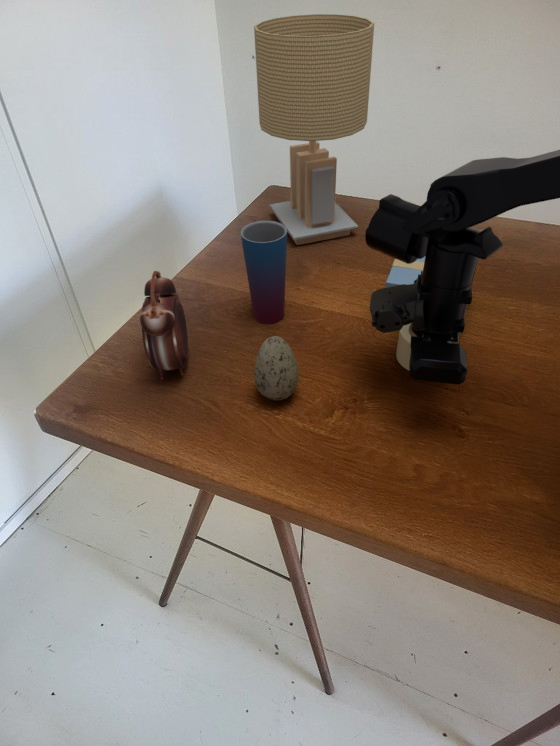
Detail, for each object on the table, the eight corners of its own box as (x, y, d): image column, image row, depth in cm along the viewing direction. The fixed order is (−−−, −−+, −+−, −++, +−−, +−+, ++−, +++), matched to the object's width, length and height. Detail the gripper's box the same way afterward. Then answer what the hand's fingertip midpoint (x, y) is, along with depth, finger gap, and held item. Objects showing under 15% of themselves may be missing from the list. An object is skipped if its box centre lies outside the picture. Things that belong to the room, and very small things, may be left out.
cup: (289, 327, 83) (286, 242, 73) (247, 327, 83) (238, 243, 73) (289, 302, 88) (287, 219, 78) (249, 303, 88) (242, 220, 78)
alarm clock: (160, 342, 81) (139, 258, 71) (190, 340, 81) (174, 255, 71) (154, 391, 73) (129, 303, 63) (188, 388, 73) (169, 300, 63)
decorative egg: (288, 415, 69) (286, 359, 62) (248, 402, 71) (242, 346, 64) (305, 386, 73) (305, 330, 66) (267, 375, 75) (263, 319, 68)
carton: (467, 297, 87) (477, 254, 82) (458, 339, 79) (470, 295, 74) (395, 285, 91) (401, 243, 85) (380, 324, 83) (385, 281, 77)
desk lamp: (253, 213, 113) (240, 20, 89) (337, 199, 117) (345, 10, 93) (282, 256, 99) (274, 41, 75) (375, 238, 103) (396, 28, 80)
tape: (455, 346, 78) (461, 320, 75) (446, 380, 73) (453, 354, 69) (402, 335, 80) (406, 309, 77) (390, 367, 75) (394, 341, 72)
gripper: (382, 233, 68) (372, 327, 79) (371, 317, 55) (360, 416, 66) (470, 239, 66) (447, 335, 77) (481, 327, 53) (452, 428, 64)
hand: (426, 374), depth 71 cm, fingers closed
